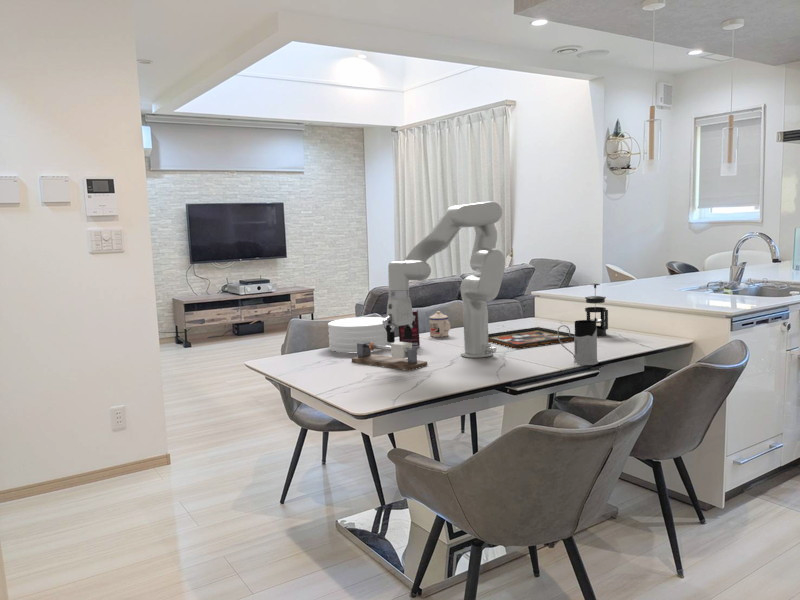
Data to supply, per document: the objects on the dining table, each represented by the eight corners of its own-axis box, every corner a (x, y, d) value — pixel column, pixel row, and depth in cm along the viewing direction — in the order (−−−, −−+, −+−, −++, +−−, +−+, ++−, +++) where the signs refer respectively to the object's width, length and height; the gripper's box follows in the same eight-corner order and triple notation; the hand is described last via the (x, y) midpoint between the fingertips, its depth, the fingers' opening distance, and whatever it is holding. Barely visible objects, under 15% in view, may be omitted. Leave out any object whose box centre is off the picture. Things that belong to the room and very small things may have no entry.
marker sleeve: (412, 356, 236) (411, 342, 236) (403, 358, 233) (403, 345, 232) (400, 354, 240) (399, 341, 240) (391, 356, 236) (391, 343, 236)
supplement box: (420, 345, 276) (418, 309, 274) (419, 348, 271) (417, 311, 269) (400, 346, 276) (398, 310, 275) (399, 348, 272) (397, 311, 270)
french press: (579, 334, 287) (578, 283, 284) (593, 331, 292) (593, 282, 289) (599, 337, 277) (598, 285, 274) (614, 335, 282) (613, 283, 279)
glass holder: (599, 365, 224) (599, 323, 222) (558, 365, 226) (558, 323, 225) (596, 359, 232) (596, 319, 231) (557, 360, 235) (556, 320, 233)
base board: (427, 365, 235) (427, 361, 235) (410, 370, 228) (409, 366, 228) (369, 357, 255) (369, 353, 255) (351, 361, 248) (351, 358, 247)
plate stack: (319, 346, 285) (318, 321, 284) (374, 339, 298) (373, 315, 297) (345, 356, 261) (343, 328, 259) (404, 347, 274) (403, 321, 273)
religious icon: (532, 330, 305) (531, 324, 305) (588, 340, 275) (588, 333, 275) (469, 341, 285) (469, 335, 285) (523, 353, 256) (523, 346, 255)
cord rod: (418, 362, 234) (417, 346, 234) (410, 364, 231) (410, 348, 230) (365, 355, 252) (364, 340, 252) (357, 357, 249) (356, 342, 248)
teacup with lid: (425, 336, 300) (424, 311, 299) (439, 333, 306) (438, 309, 305) (443, 338, 291) (442, 313, 290) (457, 335, 297) (456, 311, 295)
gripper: (390, 297, 225) (391, 344, 226) (421, 293, 238) (422, 338, 239) (375, 296, 230) (376, 342, 231) (406, 292, 243) (407, 336, 244)
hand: (399, 340), depth 235 cm, fingers open, 9 cm apart
